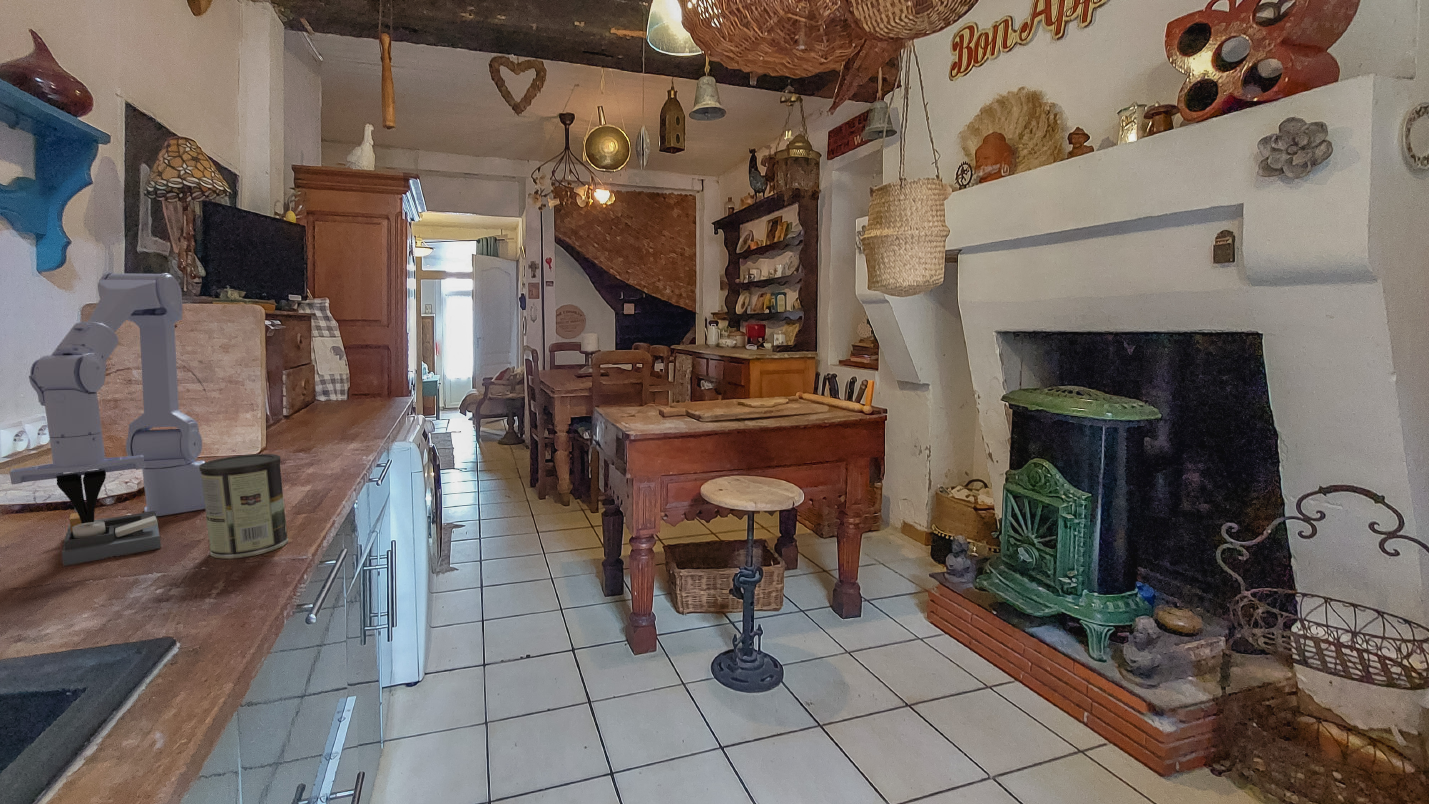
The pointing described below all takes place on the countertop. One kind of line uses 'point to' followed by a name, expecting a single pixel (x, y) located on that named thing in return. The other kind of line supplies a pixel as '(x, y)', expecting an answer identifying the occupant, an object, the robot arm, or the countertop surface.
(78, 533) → the button
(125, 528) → the beige flat panel
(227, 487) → the coffee can
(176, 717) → the countertop surface
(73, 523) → the slider
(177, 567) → the countertop surface
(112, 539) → the console
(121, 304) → the robot arm
